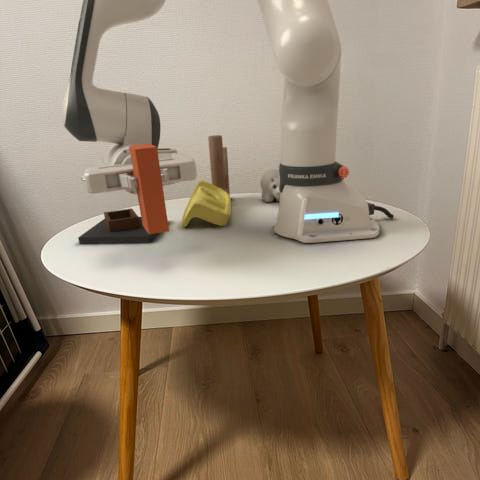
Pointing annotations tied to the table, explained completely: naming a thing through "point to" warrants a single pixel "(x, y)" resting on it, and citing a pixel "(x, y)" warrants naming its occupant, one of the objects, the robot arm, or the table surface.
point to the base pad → (115, 236)
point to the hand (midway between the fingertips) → (149, 181)
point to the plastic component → (208, 205)
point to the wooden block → (218, 163)
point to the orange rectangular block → (149, 188)
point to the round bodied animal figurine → (270, 185)
